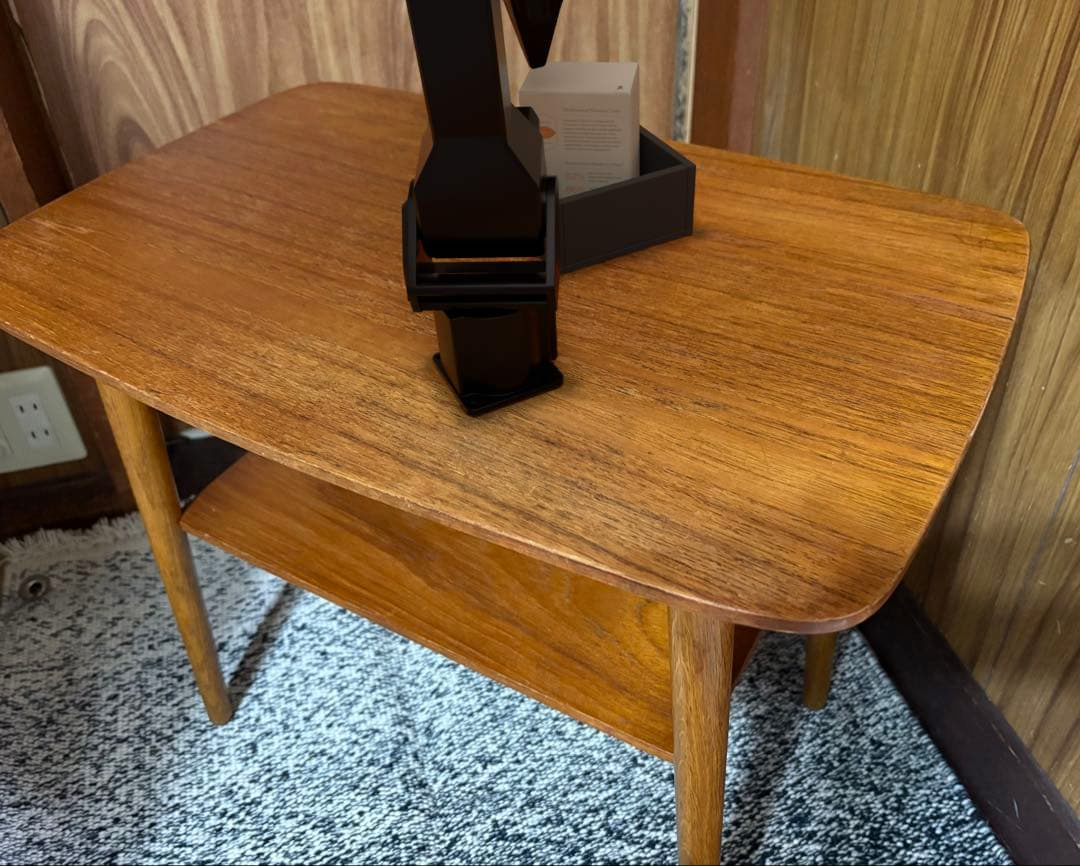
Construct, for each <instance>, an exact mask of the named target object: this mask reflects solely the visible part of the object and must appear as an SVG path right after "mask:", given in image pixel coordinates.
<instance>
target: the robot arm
mask: <svg viewBox="0 0 1080 866" xmlns="http://www.w3.org/2000/svg"><path fill="white" fill-rule="evenodd" d="M502 2H503V3H504V4H503V5H504V7H505V10H506V12H507V14H508V17H509V20H510V24H511V25H512V28H513V31H514V33H515V36H516V39H517V42H518V44H519V47H520V49H521V51H522V54H523V56H524V59H525V61H526V64H527V66H528V67H529V68H530V69H537V68H541V67H544V66H545V65H546V62H548V58H549V56H550V55H549V54H550V51H551V47H552V43H553V39H554V36H555V32H556V28H557V24H558V20H559V16H560V12H561V9H562V5H563V3H564V0H502ZM405 5H406V9H407V16H408V20H409V26H410V31H411V36H412V41H413V46H414V47H413V48H414V52H415V55H416V61H417V67H418V73H419V79H420V82H421V87H422V93H423V96H424V97H423V98H424V101H425V108H426V113H427V114H426V115H427V117H428V119H427V123H426V129H425V131H424V133H423V135H422V136H421V140H420V146H419V151H418V157H417V163H416V164H417V165H416V169H415V176H414V177H413V178H411V180H410V181H409V186H408V193H407V198H406V200H405V201H404V202H403V203H402V204H401V248H402V249H401V252H402V253H401V254H402V255H401V256H402V257H401V259H402V271H403V272H402V273H403V279H404V287H405V292H406V298H407V299H406V300H407V302H409V304H410V307H411V310H412V313H413V314H414V313H415V314H416V313H423V312H433V318H434V325H435V332H436V339H437V345H438V352H436V353H434V354H432V356H431V357H432V358H431V359H432V360H431V361H432V365H433V366H434V367H435V369H436V371H437V372H438V374H439V375H440V376H441V378H442V380H443V381H444V382H445V384H446V385H447V387H448V388H449V390H450V391H451V392H452V394H453V396H454V397H455V399H456V400H457V401H458V403H459V404H460V406H461V408H462V409H463V410H464V412H465V413H466V414H467V415H469V416H479V415H481V414H484V413H487V412H490V411H493V410H495V409H498V408H501V407H505V406H507V405H510V404H513V403H516V402H519V401H521V400H524V399H525V400H526V399H527V398H530V397H534V396H536V395H539V394H542V393H545V392H548V391H550V390H553V389H556V388H560V387H561V386H563V385H564V383H565V378H564V374H563V373H562V371H560V369H559V368H558V367H557V366H556V365H555V363H554V361H557V360H558V357H559V345H558V343H559V342H558V325H557V312H558V305H559V294H560V280H561V275H560V224H559V189H558V178H557V175H547V171H546V161H545V151H544V141H543V136H542V134H541V133H540V120H539V117H538V116H537V114H536V113H535V111H534V110H533V108H532V107H531V106H525V107H519V106H516V105H514V103H513V102H512V98H511V97H512V96H511V89H510V88H511V87H510V79H509V70H508V61H507V52H506V51H507V50H506V43H505V33H504V23H503V15H502V14H503V13H502V7H501V0H405ZM545 238H546V260H544V261H542V260H491V261H490V260H489V261H488V260H486V261H481V260H480V261H479V260H478V261H433V259H435V260H447V259H448V260H449V259H452V260H453V259H502V258H503V259H504V258H505V259H507V258H508V259H509V258H511V259H512V258H539V257H538V256H542V255H543V254H544V253H545Z"/></svg>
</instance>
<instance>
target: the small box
mask: <svg viewBox="0 0 1080 866" xmlns="http://www.w3.org/2000/svg"><path fill="white" fill-rule="evenodd" d="M525 106H531V107H532V108H533V110H534V111H535V113H536V114H537V116H538V117H539V120H540V133H541V134H542V136H543V141H544V151H545V161H546V171H547V175H557V178H558V189H559V199H561V198H564V197H568V196H572V195H575V194H579V193H582V192H586V191H589V190H593V189H596V188H600V187H603V186H607V185H610V184H614V183H617V182H621V181H625V180H628V179H632V178H635V177H639V176H640V159H639V124H640V64H639V62H637V61H634V62H633V61H618V62H617V61H547V62H546V65H545V66H544V67H541V68H537V69H531V68H530V69H529V71H528V74H527V75H526V77H525V79H524V80H523V82H522V84H521V86H520V88H519V90H518V107H525Z"/></svg>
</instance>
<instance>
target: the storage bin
mask: <svg viewBox="0 0 1080 866" xmlns="http://www.w3.org/2000/svg"><path fill="white" fill-rule="evenodd" d="M639 159H640V176H639V177H635V178H632V179H628V180H625V181H621V182H617V183H614V184H610V185H607V186H603V187H600V188H596V189H593V190H589V191H586V192H582V193H579V194H575V195H572V196H568V197H564V198H561V199H559V224H560V276H562V275H565V274H569V273H572V272H575V271H578V270H581V269H585V268H587V267H591V266H594V265H597V264H601V263H603V262H607V261H611V260H613V259H617V258H620V257H623V256H626V255H629V254H633V253H637V252H639V251H643V250H646V249H649V248H652V247H655V246H658V245H662V244H665V243H669V242H672V241H675V240H678V239H682V238H686V237H688V236H691V235H693V233H694V216H695V215H694V213H695V197H696V181H697V180H696V178H697V164H696V163H694V162H693V161H691V160H690V159H688V158H687V157H686V156H685V155H683V154H682V153H680V152H679V151H678V150H676V149H674V148H673V147H672V146H671V145H669V144H668V143H667V142H665V141H664V140H662V139H660V138H659V137H658V136H656V135H655V134H654V133H652V132H651V131H650V130H648V129H647V128H646V127H644V126H643V125H641V124H640V123H639ZM537 258H539V259H540V261H544V260H546V238H545V253H544V254H543V255H542V256H538V257H537Z"/></svg>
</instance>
